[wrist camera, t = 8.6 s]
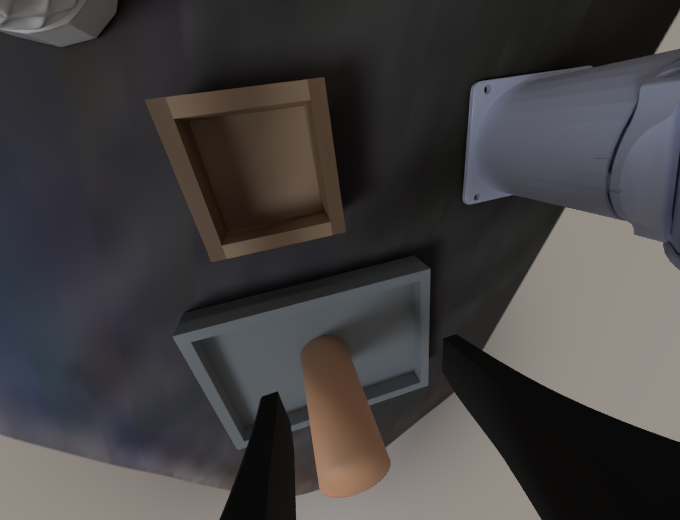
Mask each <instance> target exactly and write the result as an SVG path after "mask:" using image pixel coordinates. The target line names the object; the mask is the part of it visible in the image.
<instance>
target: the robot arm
mask: <svg viewBox="0 0 680 520" xmlns="http://www.w3.org/2000/svg"><path fill="white" fill-rule="evenodd" d="M485 86H486V87H487V91H486V93H485V92H484V88H485ZM475 195H476V198H475V199H474V196H475ZM510 195H517V196H521V197H525V198H529V199H534V200H538V201H542V202H547V203H551V204H555V205H559V206H564V207H568V208H572V209H576V210H581V211H585V212H589V213H594V214H598V215H602V216H606V217H611V218H615V219H619V220H625V221H628V222H630V223H631V224H632V225H633V228H634V234H635V235H638V236H642V237H646V238H649V239H653V240H657V241H661V242H663V247H664V251H665V254H666V256H667V257H668V258H669V260H670V262H671V263H672V264H673V265H675V267H677V268H678V269H679V270H680V49H677V50H673V51H668V52H664V53H659V54H654V55H649V56H645V57H640V58H635V59H631V60H626V61H621V62H617V63H612V64H607V65H603V66H598V67H592V66H584V67H577V68H570V69H563V70H556V71H549V72H542V73H535V74H528V75H521V76H514V77H507V78H500V79H493V80H485V81H480V82H477V83H475V84H474V85H473V86H472V88H471V92H470V104H469V117H468V131H467V144H466V158H465V171H464V185H463V198H462V199H463V202H464V203H465V204H468V205H470V204H475V203H479V202H484V201H488V200H492V199H497V198H501V197H506V196H510ZM442 371H443V373H444V375H445V377H446V378H447V380H448V382H449V384H450V385H451V387H452V388H453V390H454V392H455V393H456V395H457V396H458V397H459V399H460V400H461V401H462V403H463V404H464V406H465V407H466V408H467V410H468V411H469V412H470V414H471V415H472V416H473V418H474V419H475V420H476V421H477V423H478V424H479V425H480V427H481V428H482V430H483V431H484V432H485V434H486V435H487V436H488V438H489V439H490V440H491V442H492V443H493V444H494V446H495V447H496V448H497V450H498V451H499V453H500V454H501V455H502V457H503V458H504V459H505V461H506V463H507V465H508V466H509V468H510V469H511V471H512V472H513V474H514V475H515V477H516V479H517V480H518V482H519V483H520V485H521V486H522V488H523V490H524V491H525V493H526V495H527V496H528V498H529V500H530V501H531V503H532V505H533V506H534V508H535V509H536V511H537V513H538V514H539V516H540V517H541V519H542V520H680V442H677V441H674V440H671V439H669V438H666V437H663V436H660V435H658V434H655V433H652V432H649V431H647V430H644V429H641V428H638V427H636V426H633V425H631V424H628V423H626V422H623V421H621V420H618V419H616V418H613V417H611V416H608V415H606V414H604V413H601V412H599V411H596V410H594V409H592V408H589V407H587V406H585V405H583V404H580V403H578V402H576V401H574V400H572V399H570V398H568V397H566V396H563V395H561V394H559V393H557V392H555V391H553V390H551V389H549V388H547V387H545V386H543V385H541V384H539V383H537V382H536V381H534V380H532V379H530V378H528V377H526V376H524V375H523V374H521V373H519V372H517V371H515V370H514V369H512V368H510V367H509V366H507V365H505V364H504V363H502V362H500V361H498V360H497V359H495V358H493V357H492V356H490V355H489V354H487V353H485V352H484V351H482V350H480V349H479V348H477V347H476V346H474V345H472V344H471V343H469V342H468V341H466V340H464V339H463V338H461V337H460V336H458V335H452V336H449V337H446V338H443V363H442ZM295 502H296V501H295V465H294V447H293V438H292V430H291V423H290V420H289V417H288V415H287V413H286V410H285V408H284V405H283V403H282V400H281V398H280V395H279V393H278V391H277V392H274V393H271V394H268V395H265V396H262V397H261V399H260V403H259V407H258V411H257V415H256V418H255V422H254V425H253V429H252V432H251V435H250V439H249V442H248V445H247V448H246V451H245V454H244V457H243V460H242V463H241V466H240V469H239V471H238V474H237V477H236V479H235V482H234V485H233V487H232V490H231V493H230V495H229V498H228V500H227V503H226V505H225V508H224V510H223V513H222V515H221V518H220V520H296V503H295Z"/></svg>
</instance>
